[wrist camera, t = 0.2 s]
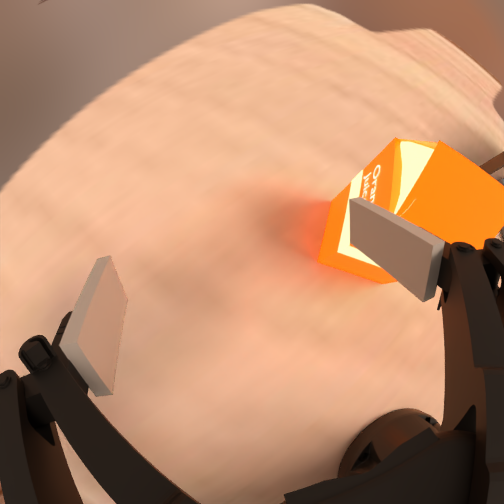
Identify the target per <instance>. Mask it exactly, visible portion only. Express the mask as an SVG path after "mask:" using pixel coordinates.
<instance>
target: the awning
mask: <svg viewBox="0 0 504 504" xmlns="http://www.w3.org/2000/svg"><path fill="white" fill-rule="evenodd" d="M502 167H504V152H502V153H501V154H499V155H497V156H496V157H494V158H493V159H491V160H489V161H488V162H486V163H485V164H483V165H481V166H480V168H481V169H482V170H484V171H485V172H486V173H488V174H489V175H490V174H492V173H494V172H495V171H497V170H499V169H500V168H502Z"/></svg>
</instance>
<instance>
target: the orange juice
mask: <svg viewBox="0 0 504 504" xmlns="http://www.w3.org/2000/svg"><path fill="white" fill-rule="evenodd" d="M357 197H362V198H364V199H366V200H368V201H370V202H372V203H374V204H376V205H378V206H380V207H382V208H384V209H386V210H388V211H390V212H392V213H394V214H396V215H398V216H400V217H402V218H404V219H405V220H407V221H409V222H411V223H413V224H415V225H417V226H419V227H422V228H423V229H425V230H427V231H428V232H431V233H432V234H434V235H436V236H438V237H439V238H441V239H443V240H445V241H446V242H448V243H450V244H452V243H453V242H466V243H468V244H471V245H473V246H474V247H475V248H476V250H478V249H483V246H484V241H485V239H487V238H495V236H496V235H497V234H498V232H499V231H500V230H501V228H502V227H503V226H504V186H503V185H501V184H500V183H499V182H498V181H496V180H495V179H494V178H493V177H491V176H490V175H489V174H488V173H486V172H485V171H484V170H482V169H481V168H480V167H478V166H477V165H475V164H474V163H473V162H471V161H470V160H468V159H467V158H466V157H464V156H463V155H461V154H460V153H458V152H457V151H455V150H454V149H452V148H451V147H449V146H448V145H446V144H445V143H443V142H441V141H440V140H439V142H438V143H436V142H427V141H416V140H405V139H398V138H396V137H395V138H394V139H393V140H392V141H391V142H390V143H389V144H388V145H387V146H386V148H385V149H384V150H383V151H382V152H381V153H380V154H379V155H378V156H377V157H376V158H375V159H374V160H373V161H372V162H371V163H370V164H369V165H368V166H367V167H366V168H365V169H364V170H362V171H361V172H360V173H359V174H358V175H357V176H356V177H355V178H354V179H353V180H352V182H351V183H350V184H349V185H348V186H347V187H346V188H345V189H344V190H343V191H342V192H341V193H340V194H338V195H337V196H336V197H335V198H334V199H333V200H332V201H331V206H330V210H329V215H328V219H327V223H326V228H325V232H324V236H323V240H322V244H321V248H320V252H319V256H318V260H317V262H318V263H321V264H324V265H327V266H330V267H333V268H336V269H339V270H342V271H345V272H348V273H351V274H354V275H357V276H360V277H363V278H366V279H369V280H372V281H375V282H378V283H381V284H386V283H392V282H397V280H396V279H395V278H393V277H392V276H391V275H390V274H388V273H387V272H386V271H385V270H383V269H382V268H381V267H380V266H378V265H377V264H376V263H375V262H373V261H372V260H371V259H370V258H368V257H367V256H366V255H365V254H363V253H362V252H361V251H359V250H358V249H357V248H356V247H354V246H353V245H352V244H350V212H349V199H352V198H357Z"/></svg>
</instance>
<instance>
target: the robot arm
mask: <svg viewBox="0 0 504 504" xmlns="http://www.w3.org/2000/svg"><path fill="white" fill-rule="evenodd" d="M349 212H350V244H352V245H353V246H354V247H356V248H357V249H358V250H359V251H361V252H362V253H363V254H365V255H366V256H367V257H368V258H370V259H371V260H372V261H373V262H375V263H376V264H377V265H378V266H380V267H381V268H382V269H383V270H385V271H386V272H387V273H388V274H390V275H391V276H392V277H393V278H395V279H396V280H397V281H398V282H399V283H401V284H402V285H403V286H404V287H405V288H407V289H408V290H409V291H410V292H411V293H412V294H414V295H415V296H416V297H417V298H418V299H420V300H421V301H422V302H425V301H427V300H429V299H431V298H433V297H434V296H435V292H436V287H437V285H438V286H439V287H440V288H442V292H441V296H440V300H439V304H438V308H437V310H439V309H440V307H441V306H442V315H443V328H444V346H445V398H444V415H443V421H442V425H441V426H440V424H439V423H438V422H437V421H436V420H435V419H434V418H433V417H432V416H430V415H429V414H426V413H424V412H422V411H419V410H416V409H401V410H397V411H394V412H391V413H388V414H386V415H384V416H383V417H381V418H379V419H378V420H376V421H375V422H373V423H372V424H371V425H369V426H368V427H367V428H366V429H365V430H364V431H362V432H361V433H360V434H359V436H358V437H357V438H356V439H355V440H354V441H353V443H352V444H351V445H350V447H349V448H348V450H347V451H346V453H345V455H344V457H343V459H342V462H341V464H340V468H339V473H338V478H337V479H332V480H325V481H322V482H320V483H317V484H314V485H311V486H309V487H306V488H303V489H300V490H297V491H293V492H290V493H287V494H284V497H285V500H286V501H284V502H282V503H281V504H504V242H502V241H500V240H499V239H496V238H487V239H485V241H484V246H483V249H478V250H476V248H475V247H474V246H473V245H471V244H468V243H466V242H453V243H452V244H450V243H448V242H446V241H445V240H443V239H441V238H439V237H438V236H436V235H434V234H432V233H431V232H428V231H427V230H425V229H423V228H422V227H419V226H417V225H415V224H413V223H411V222H409V221H407V220H405V219H404V218H402V217H400V216H398V215H396V214H394V213H392V212H390V211H388V210H386V209H384V208H382V207H380V206H378V205H376V204H374V203H372V202H370V201H368V200H366V199H364V198H362V197H357V198H352V199H349ZM500 276H501V287H500V288H499V287H498V282H499V278H500ZM127 302H128V298H127V296H126V294H125V291H124V289H123V286H122V284H121V282H120V279H119V277H118V274H117V272H116V269H115V266H114V264H113V261H112V259H111V256H106V257H102V258H99V259H97V261H96V263H95V265H94V267H93V269H92V271H91V273H90V275H89V277H88V279H87V281H86V283H85V285H84V287H83V290H82V292H81V294H80V296H79V298H78V301H77V303H76V305H75V307H74V310H73V311H71V312H68V314H67V315H66V316H65V317H64V318H63V319H62V321H61V324H60V326H59V329H58V331H57V333H56V335H55V338H54V340H53V343H52V345H50V344H49V342H48V341H47V339H46V337H44V336H43V335H37V336H33V337H32V338H30V339H28V340H27V341H26V342H25V343H24V344H23V345H22V346H21V348H20V350H19V353H18V354H19V358H20V359H21V361H22V362H23V364H24V365H25V366H26V368H27V369H28V370H29V372H30V374H28V375H26V376H23V377H21V378H20V377H19V376H18V375H17V374H16V372H15V371H13V370H7V371H4V372H3V373H1V374H0V481H1V487H2V491H3V496H4V500H5V504H83V502H82V499H81V497H80V495H79V492H78V490H77V488H76V485H75V483H74V480H73V478H72V475H71V472H70V469H69V467H68V464H67V461H66V458H65V455H64V452H63V449H62V446H61V442H60V439H59V436H58V432H57V428H56V425H55V421H56V422H57V424H58V426H59V427H60V429H61V430H62V432H63V434H64V435H65V437H66V438H67V440H68V441H69V443H70V445H71V446H72V448H73V449H74V450H75V452H76V453H77V455H78V456H79V458H80V459H81V460H82V462H83V463H84V465H85V466H86V467H87V469H88V470H89V471H90V473H91V474H92V475H93V476H94V478H95V479H96V480H97V481H98V483H99V484H100V485H101V486H102V488H103V489H104V490H105V491H106V492H107V494H108V495H109V496H110V497H111V498H112V499H113V500H114V502H115V503H116V504H201V503H199V502H198V501H196V500H195V499H194V498H192V497H191V496H190V495H188V494H187V493H186V492H184V491H183V490H182V489H181V488H179V487H178V486H177V485H176V484H174V483H173V482H172V481H171V480H169V479H168V478H167V477H166V476H165V475H164V474H162V473H161V472H160V471H159V470H158V469H157V468H155V467H154V466H153V465H152V464H151V463H150V462H149V461H148V460H147V459H146V458H145V457H143V456H142V455H141V454H140V453H139V452H138V451H137V450H136V449H135V448H134V447H133V446H132V445H131V444H130V443H129V442H128V441H127V440H126V439H125V438H124V437H123V436H122V435H121V434H120V433H119V432H118V430H117V429H116V428H115V427H114V426H113V425H112V424H111V423H110V422H109V421H108V419H107V418H106V417H105V416H104V415H103V414H102V413H101V411H100V410H99V409H98V408H97V407H96V406H95V404H94V403H93V402H92V401H91V399H90V398H89V397H88V396H87V394H88V388H90V390H91V391H92V392H93V393H94V395H95V396H96V397H97V396H106V395H113V387H114V379H115V372H116V365H117V358H118V351H119V345H120V339H121V333H122V328H123V322H124V317H125V312H126V307H127Z"/></svg>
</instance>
